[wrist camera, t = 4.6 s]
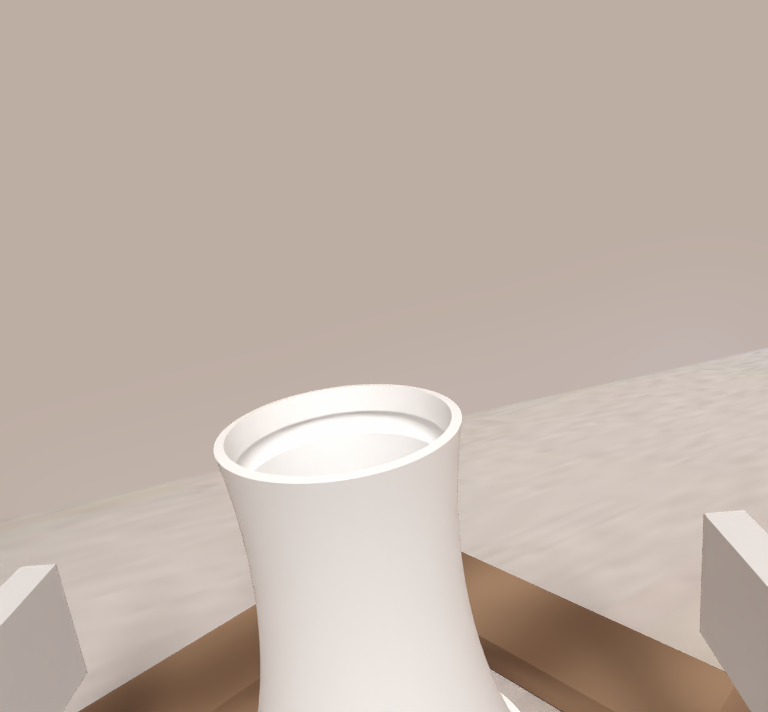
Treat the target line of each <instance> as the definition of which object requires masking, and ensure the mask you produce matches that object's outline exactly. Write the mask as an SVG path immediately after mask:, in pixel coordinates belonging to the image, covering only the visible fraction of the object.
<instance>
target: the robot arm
mask: <svg viewBox="0 0 768 712" xmlns="http://www.w3.org/2000/svg"><path fill="white" fill-rule="evenodd" d="M700 633H701V634H702V636H703V638H704V639H705V641H706V642H707V644H708V645H709V647H710V648H711V650H712V652H713V653H714V655H715V656H716V658H717V659H718V661H719V663H720V664H721V666H722V667H723V669H724V670H725V672H726V673H727V675H728V677H729V678H730V680H731V681H732V683H733V684H734V686H735V687H736V689H737V691H738V692H739V694H740V695H741V697H742V698H743V700H744V702H745V703H746V705H747V706H748V708H749V709H750V711H751V712H768V533H767V532H766V531H765V530H764V529H763V528H762V527H761V526H760V525H759V524H758V523H757V522H756V521H755V520H754V519H753V518H752V517H751V516H750V515H749V514H748V513H747V512H746V511H745V510H738V511H726V512H713V513H704V516H703V547H702V578H701V608H700ZM87 673H88V672H87V669H86V666H85V662H84V659H83V655H82V652H81V648H80V645H79V641H78V638H77V635H76V631H75V628H74V624H73V621H72V617H71V614H70V610H69V607H68V603H67V600H66V597H65V593H64V590H63V586H62V583H61V579H60V576H59V572H58V569H57V566H56V564H48V565H35V566H22V567H20V568H19V569H18V570H17V571H16V572H15V573H14V574H13V575H12V576H11V577H10V578H9V579H8V580H7V581H6V582H5V583H4V584H3V585H2V586H1V587H0V712H63V710H64V709H65V707H66V705H67V704H68V702H69V701H70V699H71V698H72V696H73V695H74V693H75V691H76V690H77V688H78V687H79V685H80V684H81V682H82V680H83V679H84V677H85V676H86V674H87Z"/></svg>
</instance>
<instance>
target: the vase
mask: <svg viewBox="0 0 768 712" xmlns="http://www.w3.org/2000/svg"><path fill="white" fill-rule="evenodd" d="M461 423H462V414H461V411H460V409H459V407H458V406H457V405H456V404H455V403H454V402H453V401H452V400H450V399H449V398H447V397H445V396H443V395H441V394H439V393H436V392H433V391H430V390H426V389H422V388H417V387H411V386H403V385H391V384H365V385H350V386H341V387H333V388H327V389H321V390H316V391H311V392H306V393H302V394H298V395H294V396H291V397H287V398H284V399H281V400H278V401H275V402H272V403H269V404H267V405H264V406H262V407H260V408H257V409H255V410H253V411H251V412H249V413H247V414H245V415H244V416H242V417H240V418H239V419H237V420H236V421H234V422H233V423H232V424H230V425H229V426H228V427H227V428H225V429H224V430H223V431H222V433H221V434H220V435H219V436H218V438H217V440H216V442H215V445H214V456H215V458H216V461H217V463H218V466H219V468H220V471H221V473H222V476H223V478H224V481H225V484H226V487H227V489H228V492H229V495H230V498H231V501H232V504H233V507H234V510H235V514H236V517H237V520H238V524H239V527H240V530H241V534H242V537H243V542H244V546H245V550H246V554H247V558H248V562H249V567H250V572H251V577H252V583H253V588H254V594H255V601H256V608H257V617H258V628H259V642H260V691H259V705H258V712H520V711H519V710H518V709H517V707H516V706H515V705H514V704H513V703H512V702H511V701H510V700H509V699H508V698H506V697H505V696H504V695H503V694H502V693H501V692H500V691H499V689H498V686H497V684H496V682H495V680H494V678H493V675H492V673H491V670H490V668H489V665H488V663H487V661H486V658H485V655H484V652H483V649H482V646H481V643H480V640H479V637H478V634H477V630H476V627H475V623H474V619H473V615H472V611H471V607H470V602H469V598H468V593H467V587H466V582H465V576H464V569H463V562H462V554H461V544H460V533H459V513H458V463H459V445H460V433H461ZM431 439H432V440H431Z"/></svg>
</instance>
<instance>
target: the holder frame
mask: <svg viewBox="0 0 768 712" xmlns="http://www.w3.org/2000/svg"><path fill="white" fill-rule="evenodd" d="M461 554H462V562H463V569H464V576H465V582H466V587H467V593H468V598H469V602H470V607H471V611H472V615H473V619H474V623H475V627H476V630H477V634H478V637H479V640H480V643H481V646H482V649H483V652H484V655H485V658H486V661H487V663H488V665H489V668H491V669H493V670H494V671H496V672H498V673H499V674H501V675H503V676H504V677H506V678H508V679H509V680H511V681H513V682H514V683H516V684H518V685H519V686H521V687H523V688H524V689H526V690H528V691H529V692H531V693H533V694H534V695H536V696H538V697H539V698H541V699H543V700H544V701H546V702H548V703H549V704H551V705H553V706H554V707H556V708H558V709H559V710H561V711H563V712H751V711H750V709H749V708H748V706H747V705H746V703H745V702H744V700H743V698H742V697H741V695H740V694H739V692H738V691H737V689H736V687H735V686H734V684H733V683H732V681H731V680H730V678H729V677H728V675H727V673H726V672H725V671H722V670H720V669H718V668H716V667H714V666H711V665H709V664H707V663H705V662H703V661H700V660H698V659H696V658H694V657H692V656H689V655H687V654H685V653H683V652H681V651H678V650H676V649H674V648H672V647H670V646H667V645H665V644H663V643H661V642H659V641H656V640H654V639H652V638H650V637H648V636H645V635H643V634H641V633H639V632H637V631H634V630H632V629H630V628H628V627H626V626H623V625H621V624H619V623H617V622H615V621H612V620H610V619H608V618H606V617H604V616H601V615H599V614H597V613H595V612H593V611H590V610H588V609H586V608H584V607H582V606H579V605H577V604H575V603H573V602H571V601H568V600H566V599H564V598H562V597H560V596H557V595H555V594H553V593H551V592H549V591H546V590H544V589H542V588H540V587H538V586H535V585H533V584H531V583H529V582H527V581H524V580H522V579H520V578H518V577H516V576H513V575H511V574H509V573H507V572H505V571H502V570H500V569H498V568H496V567H494V566H491V565H489V564H487V563H485V562H483V561H480V560H478V559H476V558H474V557H472V556H469V555H467V554H465V553H463V552H461ZM259 691H260V642H259V628H258V617H257V608H256V605H254V606H252V607H251V608H249V609H247V610H246V611H244V612H242V613H241V614H239V615H237V616H236V617H234V618H232V619H231V620H229V621H228V622H226V623H224V624H223V625H221V626H219V627H218V628H216V629H214V630H213V631H211V632H209V633H208V634H206V635H204V636H203V637H201V638H199V639H198V640H196V641H194V642H193V643H191V644H190V645H188V646H186V647H185V648H183V649H181V650H180V651H178V652H176V653H175V654H173V655H171V656H170V657H168V658H166V659H165V660H163V661H161V662H160V663H158V664H156V665H155V666H153V667H152V668H150V669H148V670H147V671H145V672H143V673H142V674H140V675H138V676H137V677H135V678H133V679H132V680H130V681H128V682H127V683H125V684H123V685H122V686H120V687H118V688H117V689H115V690H114V691H112V692H110V693H109V694H107V695H105V696H104V697H102V698H100V699H99V700H97V701H95V702H94V703H92V704H90V705H89V706H87V707H85V708H84V709H82V710H80V711H79V712H258V705H259Z"/></svg>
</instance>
